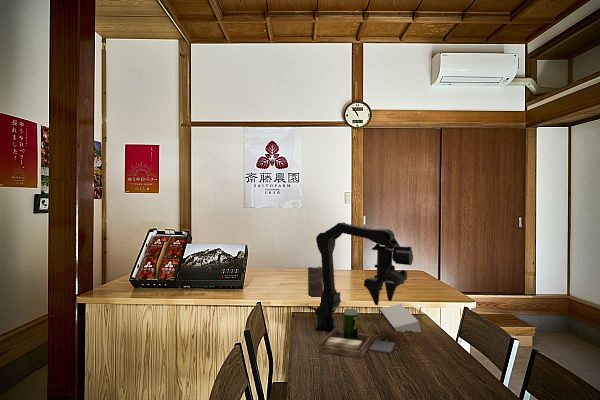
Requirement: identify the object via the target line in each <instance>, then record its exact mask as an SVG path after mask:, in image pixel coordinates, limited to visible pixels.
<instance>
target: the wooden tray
mask: <svg viewBox="0 0 600 400" xmlns="http://www.w3.org/2000/svg"><path fill="white" fill-rule="evenodd" d="M330 337H335V338H344V331H341V330H338V328H337V327H335V328H334V329H333V330H332V331H330V332H329V333H328V334H327V335H326V336H325V337H324V338H323V339H322V340H320V342H319V343H318V352H319V353H322V354H329V355H335V356H343V357H348V358H349V357H350V358H355V359H356V358H357V359H363V358H364V357H365V354H366V353H367V352H368V351H369V348H370V347H371V345H372V344H373V342H374V341H375V332H371V334H365V333H358V341H365V342H364V343H362V345H361V348H360V351H354V350H347V349H340V348H332V347H325V343H326V341H327V340H328V339H329V338H330Z"/></svg>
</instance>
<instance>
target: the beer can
mask: <svg viewBox="0 0 600 400" xmlns="http://www.w3.org/2000/svg"><path fill="white" fill-rule="evenodd" d="M343 332H344V338H343V339H350V340H358V334H359V312H358V309H355V308H347V309H344V312H343ZM358 341H359V340H358Z"/></svg>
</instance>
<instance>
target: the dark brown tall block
mask: <svg viewBox="0 0 600 400" xmlns="http://www.w3.org/2000/svg"><path fill="white" fill-rule="evenodd" d="M322 292H323V274H322V266H317V267H316V266H315V267H311V266H309V267H307V296H308V295H309V296H311V297H321V296H322Z"/></svg>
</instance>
